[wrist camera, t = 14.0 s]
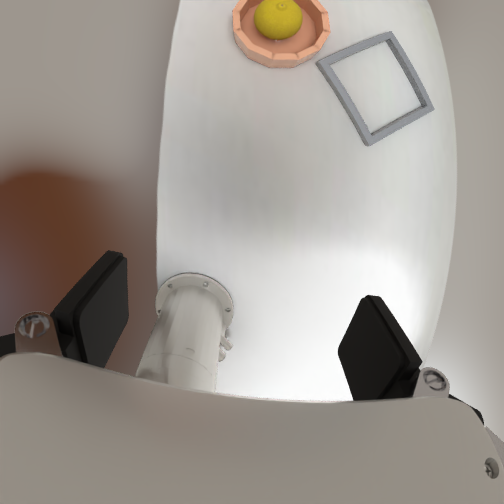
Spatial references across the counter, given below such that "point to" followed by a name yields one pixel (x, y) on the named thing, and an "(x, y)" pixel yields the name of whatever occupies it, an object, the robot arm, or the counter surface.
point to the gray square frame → (348, 103)
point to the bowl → (285, 50)
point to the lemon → (278, 18)
